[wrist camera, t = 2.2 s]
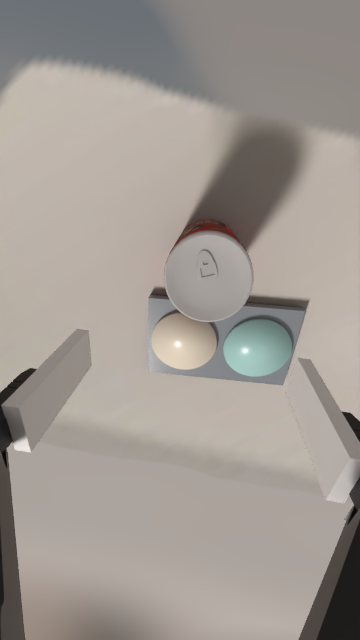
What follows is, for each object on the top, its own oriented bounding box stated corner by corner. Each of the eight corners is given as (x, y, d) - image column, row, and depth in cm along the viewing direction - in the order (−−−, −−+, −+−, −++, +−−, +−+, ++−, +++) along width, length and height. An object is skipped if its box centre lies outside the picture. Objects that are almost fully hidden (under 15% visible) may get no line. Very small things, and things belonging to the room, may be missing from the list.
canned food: (221, 205, 29) (230, 212, 19) (249, 267, 32) (269, 300, 22) (163, 239, 31) (144, 260, 21) (194, 294, 34) (190, 335, 24)
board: (150, 366, 40) (147, 374, 38) (150, 294, 34) (147, 299, 33) (280, 380, 39) (284, 388, 37) (302, 307, 33) (307, 313, 32)
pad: (219, 370, 37) (219, 373, 37) (228, 315, 33) (228, 317, 33) (281, 376, 37) (283, 379, 36) (298, 321, 33) (299, 323, 32)
